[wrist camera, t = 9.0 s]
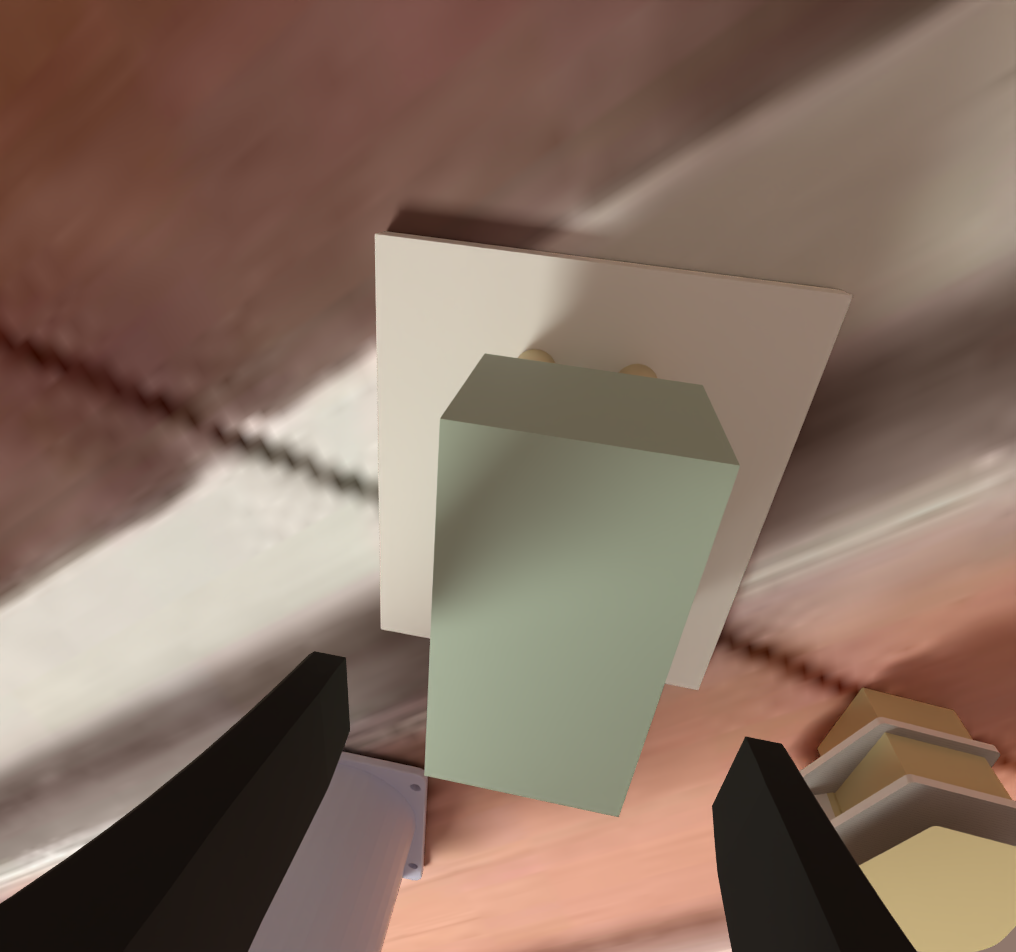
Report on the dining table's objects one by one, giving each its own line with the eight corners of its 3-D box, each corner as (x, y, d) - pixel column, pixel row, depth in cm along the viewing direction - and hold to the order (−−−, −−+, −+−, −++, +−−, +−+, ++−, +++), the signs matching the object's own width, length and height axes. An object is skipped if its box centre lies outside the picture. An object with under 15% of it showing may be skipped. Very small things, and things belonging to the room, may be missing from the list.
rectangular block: (615, 688, 17) (618, 816, 14) (459, 658, 18) (424, 775, 14) (702, 384, 12) (740, 466, 9) (484, 353, 13) (439, 418, 9)
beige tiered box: (796, 621, 20) (857, 765, 15) (1054, 685, 19) (1204, 854, 14) (697, 785, 24) (719, 933, 20) (901, 839, 24) (974, 1004, 19)
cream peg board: (695, 673, 21) (709, 752, 18) (387, 614, 22) (355, 680, 19) (841, 289, 14) (901, 318, 11) (385, 231, 15) (333, 243, 12)
